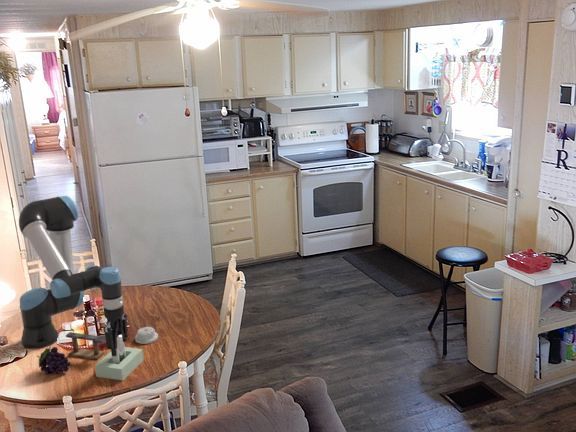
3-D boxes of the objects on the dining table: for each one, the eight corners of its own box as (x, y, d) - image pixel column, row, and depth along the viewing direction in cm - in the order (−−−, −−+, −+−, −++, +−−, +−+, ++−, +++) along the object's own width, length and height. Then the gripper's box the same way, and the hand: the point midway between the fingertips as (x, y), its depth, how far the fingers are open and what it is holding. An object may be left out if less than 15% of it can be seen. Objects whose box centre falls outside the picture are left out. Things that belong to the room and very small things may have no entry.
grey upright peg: (112, 364, 226) (109, 337, 223) (118, 359, 230) (115, 332, 227) (121, 365, 225) (118, 338, 222) (126, 360, 229) (124, 333, 226)
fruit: (62, 383, 223) (28, 373, 225) (76, 366, 233) (43, 355, 234) (63, 364, 219) (27, 353, 220) (77, 347, 228) (43, 337, 229)
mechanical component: (131, 343, 248) (152, 345, 246) (130, 334, 247) (151, 336, 245) (141, 333, 258) (161, 334, 256) (140, 324, 256) (161, 325, 254)
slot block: (96, 376, 222) (94, 365, 221) (118, 356, 237) (117, 345, 236) (123, 380, 219) (121, 369, 218) (143, 359, 234) (142, 349, 233)
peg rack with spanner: (66, 355, 239) (64, 336, 236) (74, 349, 243) (71, 331, 241) (104, 360, 234) (102, 341, 232) (111, 354, 239) (108, 335, 236)
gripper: (109, 316, 212) (116, 371, 218) (133, 298, 228) (138, 349, 234) (92, 314, 214) (99, 368, 220) (116, 296, 230) (122, 347, 236)
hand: (119, 359), depth 227 cm, fingers closed on grey upright peg, 4 cm apart
